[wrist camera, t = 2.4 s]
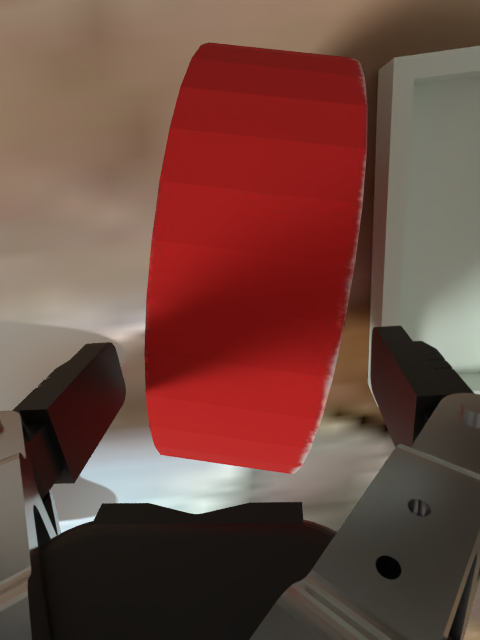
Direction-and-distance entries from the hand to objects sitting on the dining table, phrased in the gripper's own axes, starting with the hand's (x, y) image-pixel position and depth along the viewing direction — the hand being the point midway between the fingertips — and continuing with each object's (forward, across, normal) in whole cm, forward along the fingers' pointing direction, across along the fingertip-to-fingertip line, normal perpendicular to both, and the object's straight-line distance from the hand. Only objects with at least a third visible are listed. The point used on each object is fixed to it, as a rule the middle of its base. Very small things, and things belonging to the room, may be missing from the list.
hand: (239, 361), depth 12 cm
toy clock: (+20, 0, 0) cm, 20 cm away
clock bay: (+20, -14, +2) cm, 24 cm away
